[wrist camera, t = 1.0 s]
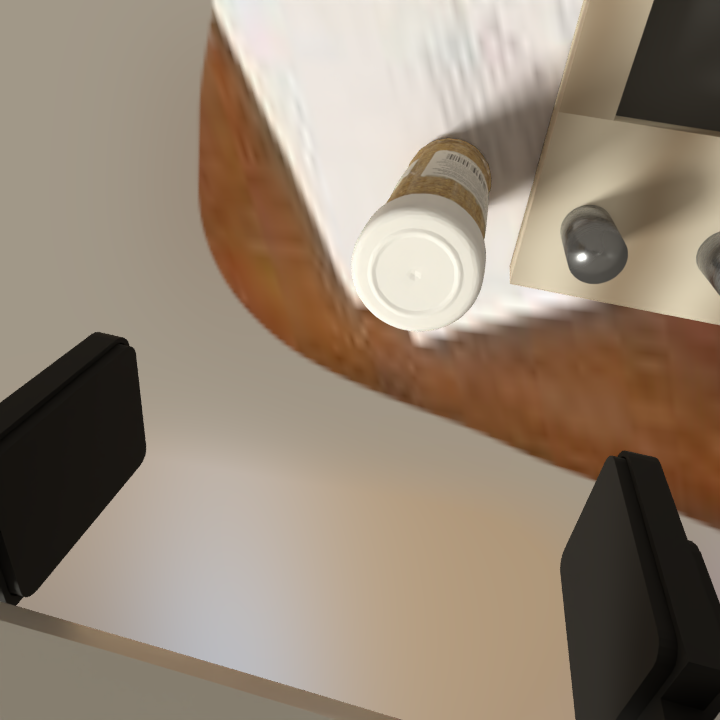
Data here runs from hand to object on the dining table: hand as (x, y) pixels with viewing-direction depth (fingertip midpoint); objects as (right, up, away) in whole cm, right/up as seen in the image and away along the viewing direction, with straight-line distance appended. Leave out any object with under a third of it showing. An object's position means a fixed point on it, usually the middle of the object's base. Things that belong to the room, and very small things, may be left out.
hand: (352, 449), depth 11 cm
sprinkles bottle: (+5, +11, +19) cm, 23 cm away
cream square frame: (+15, +13, +15) cm, 25 cm away
